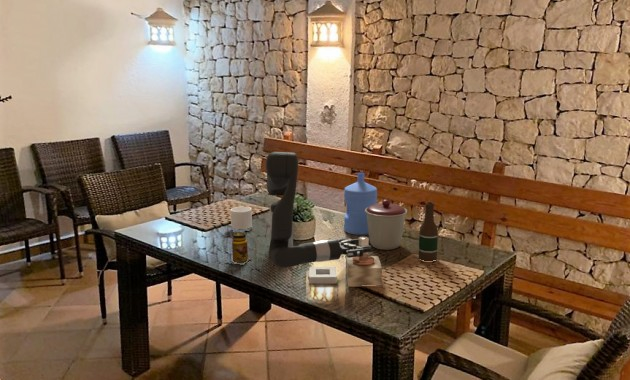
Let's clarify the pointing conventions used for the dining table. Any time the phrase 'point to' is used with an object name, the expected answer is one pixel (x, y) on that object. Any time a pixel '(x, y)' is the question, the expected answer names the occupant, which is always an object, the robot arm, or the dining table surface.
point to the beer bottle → (428, 235)
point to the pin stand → (322, 275)
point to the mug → (241, 217)
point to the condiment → (239, 247)
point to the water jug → (358, 205)
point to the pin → (364, 259)
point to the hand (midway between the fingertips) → (366, 244)
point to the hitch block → (363, 273)
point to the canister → (385, 225)
